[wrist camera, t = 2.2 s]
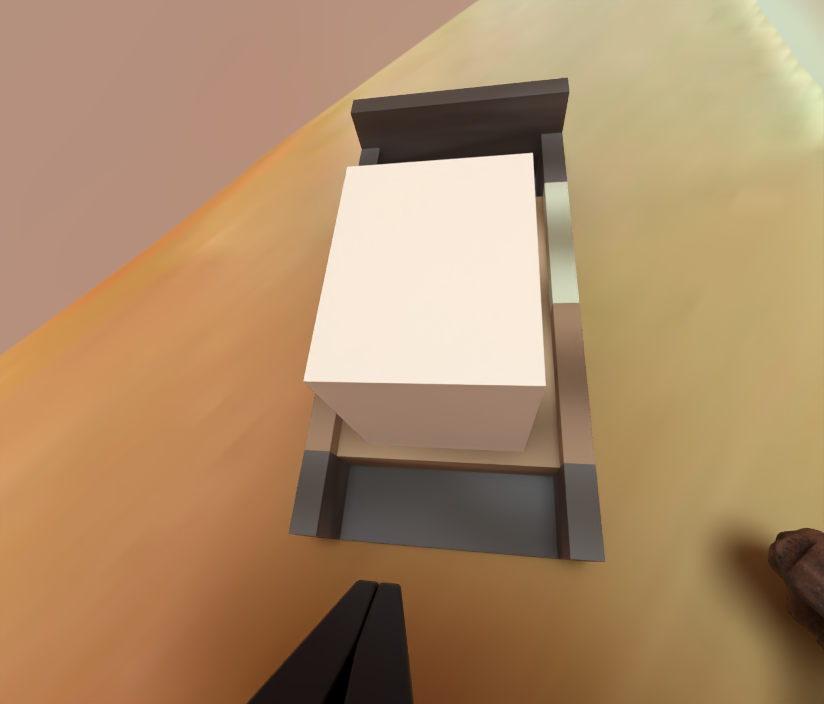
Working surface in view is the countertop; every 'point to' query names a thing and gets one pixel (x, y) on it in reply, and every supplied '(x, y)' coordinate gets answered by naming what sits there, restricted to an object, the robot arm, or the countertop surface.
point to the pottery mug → (802, 575)
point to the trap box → (563, 356)
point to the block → (434, 305)
